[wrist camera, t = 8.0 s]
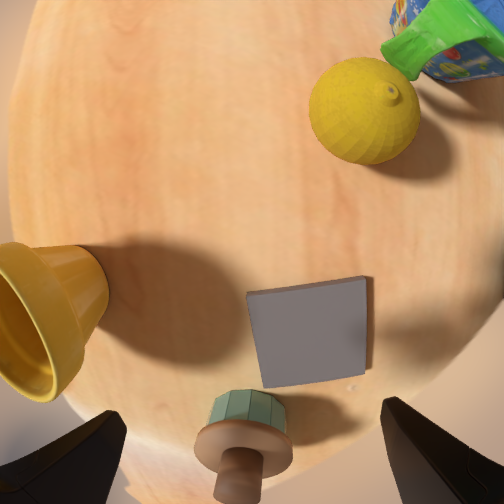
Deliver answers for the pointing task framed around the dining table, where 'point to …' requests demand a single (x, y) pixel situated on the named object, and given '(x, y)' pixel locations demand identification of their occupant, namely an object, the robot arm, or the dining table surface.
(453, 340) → the dining table surface
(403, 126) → the lemon
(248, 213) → the dining table surface
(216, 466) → the lid
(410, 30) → the snack cup
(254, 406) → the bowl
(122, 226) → the dining table surface
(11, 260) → the plant pot
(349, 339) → the mat
